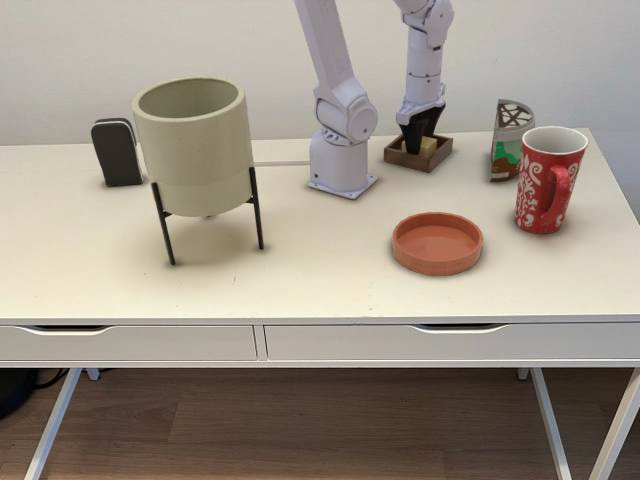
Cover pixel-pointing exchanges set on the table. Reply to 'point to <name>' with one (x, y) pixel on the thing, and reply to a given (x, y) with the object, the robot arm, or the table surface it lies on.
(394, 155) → the holder
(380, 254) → the table surface
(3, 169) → the table surface
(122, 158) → the battery charger
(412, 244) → the bowl
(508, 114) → the food container
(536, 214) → the mug
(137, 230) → the table surface
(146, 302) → the table surface
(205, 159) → the planter
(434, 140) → the block
